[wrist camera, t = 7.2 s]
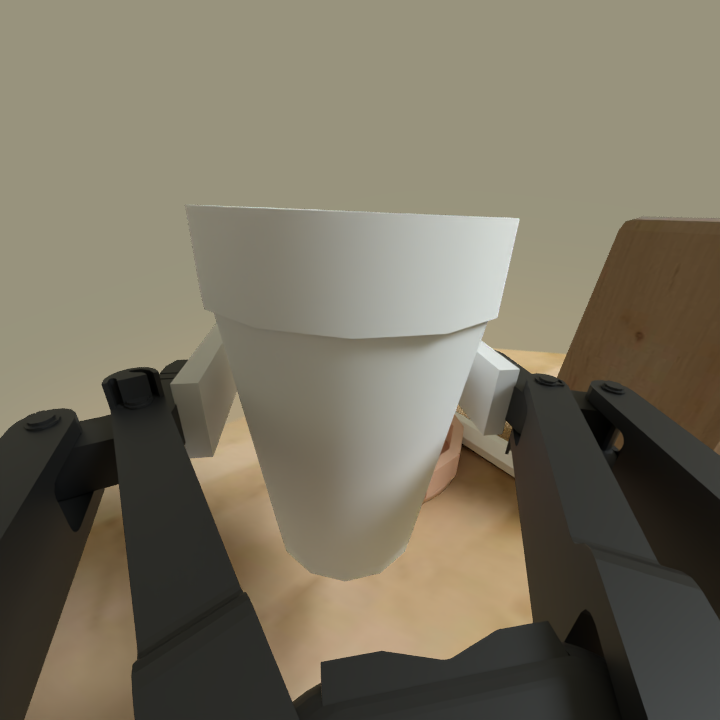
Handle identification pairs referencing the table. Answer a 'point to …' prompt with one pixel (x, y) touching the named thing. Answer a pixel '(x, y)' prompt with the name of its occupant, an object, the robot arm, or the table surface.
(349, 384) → the foam cup
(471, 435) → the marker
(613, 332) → the wooden block
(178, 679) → the robot arm
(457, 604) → the table surface
